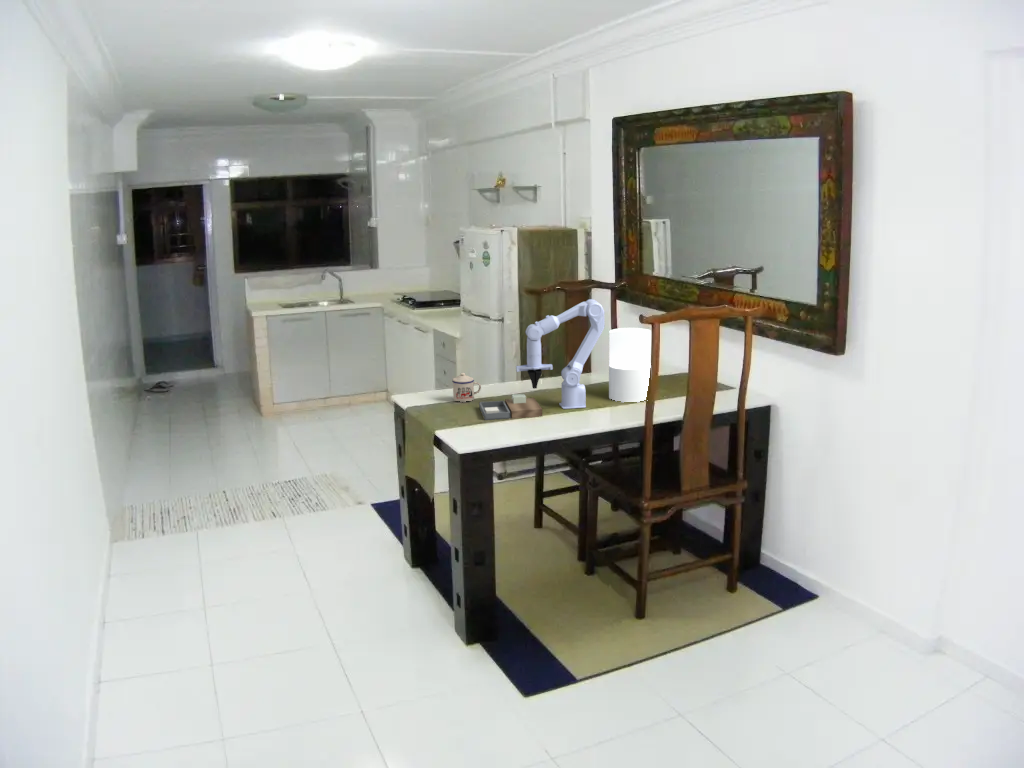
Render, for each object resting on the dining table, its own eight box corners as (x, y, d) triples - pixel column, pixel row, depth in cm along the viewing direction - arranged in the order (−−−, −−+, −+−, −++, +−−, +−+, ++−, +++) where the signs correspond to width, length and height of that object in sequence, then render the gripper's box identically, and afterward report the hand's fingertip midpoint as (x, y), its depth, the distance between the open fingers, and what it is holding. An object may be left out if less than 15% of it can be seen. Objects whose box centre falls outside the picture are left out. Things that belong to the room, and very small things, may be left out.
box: (503, 406, 343) (503, 400, 342) (510, 418, 325) (510, 412, 325) (479, 408, 341) (479, 402, 341) (484, 420, 324) (484, 414, 323)
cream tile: (484, 407, 330) (484, 413, 331) (486, 411, 325) (486, 417, 326) (497, 407, 331) (497, 413, 332) (498, 410, 326) (499, 416, 327)
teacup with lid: (454, 403, 349) (453, 376, 346) (451, 398, 358) (450, 371, 355) (483, 401, 351) (482, 374, 348) (479, 396, 360) (478, 369, 357)
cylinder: (605, 393, 360) (605, 328, 354) (645, 391, 361) (646, 327, 355) (612, 403, 344) (613, 335, 337) (654, 401, 345) (655, 334, 338)
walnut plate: (534, 404, 344) (534, 397, 344) (542, 416, 327) (542, 409, 326) (505, 406, 343) (504, 399, 342) (511, 418, 325) (511, 411, 325)
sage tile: (524, 399, 341) (523, 393, 340) (526, 402, 336) (526, 396, 336) (511, 400, 340) (511, 394, 340) (513, 403, 335) (513, 397, 335)
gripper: (517, 357, 330) (518, 391, 333) (554, 355, 332) (554, 389, 335) (514, 354, 337) (515, 387, 340) (550, 352, 339) (550, 385, 342)
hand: (534, 387), depth 338 cm, fingers closed
